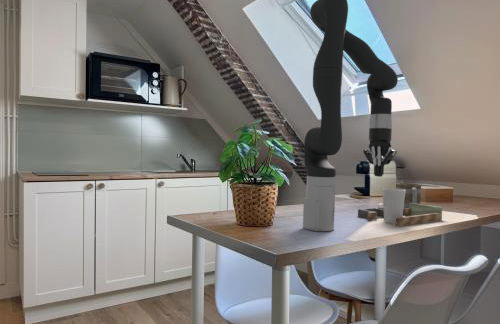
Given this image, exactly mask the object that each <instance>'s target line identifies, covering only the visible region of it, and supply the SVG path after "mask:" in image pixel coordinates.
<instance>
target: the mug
mask: <svg viewBox="0 0 500 324" xmlns="http://www.w3.org/2000/svg"><path fill="white" fill-rule="evenodd" d="M395 185H396V186H395V187H396V188H395V189H404V190H406V192H405V200H404V208H409V203H416V204H421V200H422V194H421V193H422V192H421V191H422V184H421V183H414V182H413V183H412V182H396V183H395Z"/></svg>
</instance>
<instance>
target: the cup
mask: <svg viewBox="0 0 500 324" xmlns="http://www.w3.org/2000/svg"><path fill="white" fill-rule="evenodd" d="M405 192H406V190H404V189H396V188H392V187H391V188H389V187H388V188H382V201H383V202H382V203H383V206H382V207H384V218H383V222H385V223H388V224H389V223H390V224H396V218H399V217H404V215H403V208H404V200H405Z"/></svg>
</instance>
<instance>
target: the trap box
mask: <svg viewBox="0 0 500 324" xmlns="http://www.w3.org/2000/svg"><path fill="white" fill-rule="evenodd" d="M377 215H378V216H383V217H384V207H383V206H379V207H369V208H368V207H367V208H360V209H357V217H360V218H365V219H366V220H367V221H376V220H378V219H377ZM442 219H443V207H442V206H437V205H428V204H423V203H422V204H421V203H420V204H416V203H409V208H403V217H399V218H396V223H395V227H405V226H412V225H417V224H425V223H432V222H438V221H439V220H440V221H442ZM440 221H439V222H440Z"/></svg>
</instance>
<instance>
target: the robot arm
mask: <svg viewBox="0 0 500 324" xmlns="http://www.w3.org/2000/svg"><path fill="white" fill-rule="evenodd" d="M309 11H310V12H309V13H310V14H309V15H310V19H311V20H312V22H313V23H314V24H315V26H316V27H318V28H319V30H321V31H322V32H323V33H324V34H323V39H322V42H321V45H320V47H319V49H318V52H317V54H316V56H315V59H314V63H313V68H312V87H313V92H314V95H315V97H316V99H317V101H318V104H319V107H320V118H321V119H320V126H317V127H312V128H310V129H309V130H308V131H307V132H306V134H305V137H304V141H303V142H304V143H303V145H304V146H303V148H304V149H303V150H304V151H303V153H304V154H303V155H304V158H303V159H304V167H305V169H306V192H305V194H306V195H305V198H303V209H302V210H303V215H302V216H303V217H302V218H303V219H302V228H303V229H305V230H309V231H313V232H331V231H334V230H335V208H336V207H335V201H336V200H335V199H336V176H337V175H336V174H337V173H336V172H337V171H336V167H334V166H333V165H332V164H330V162H329V160H328V156H334V155H336V154H337V153H338V152H340V149H341V147H342V141H343V134H342V133H343V132H342V131H343V128H342V127H343V125H342V112H341V111H342V84H343V83H342V82H343V63H344V62H343V59H344V53H345V54H346V55H347V56H348V57H349V58H350V59H351V61H352V62H353V63H354V64H355V66H356V67H357V68H358V69H359V71H360V72H361V73H363V74H364V75H369V76H368V78H367V80H366V88H367V89H366V90H367V93H368V98H369V101H370V115H369V116H370V118H369V122H368V123H369V124H368V125H369V128H368V141H369V145H368V147H367V148H366V149H363V152H362V153H363V154H364V156H365V157H366V159H367V161H368V163H369V164H371V165H373V174H374V176H375V177H378V178H380V177H381V178H382V177H383V176H384V172H385V171H384V170H385V166H386V165H390V163H391V162H392V161H393V159H394V157H395V156H396V155H397V153H398V150H395V149H394V148H392V145H391V144H392V143H391V141H392V129H393V128H392V126H393V118H392V107H393V103H392V99H391V98H389V97H385V95H384V92H385V91H390V90H393V89H394V88H395V87H397V85H398V75H397V73H396V71H395V70H394V69H393V68H392V66H389V65H388V64H387V63H385V62H384V61H383V60H382V59H380V58H379V57H378V56H377V54H376V53H375V51H374V50H373V49H372V48H371V46H370V45H369V44H368V43H367V42H366V41H364V40H363V39H362V38H360V37H358V36H357V35H355V34H353V33H351V32H350V31H349V30H348V29H347V23H348V15H349V4H348V0H316V1H314V2H313V3H312V4H311V7H310V9H309Z"/></svg>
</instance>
